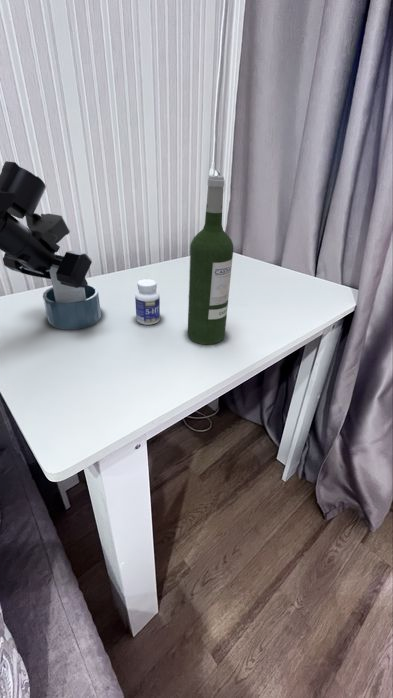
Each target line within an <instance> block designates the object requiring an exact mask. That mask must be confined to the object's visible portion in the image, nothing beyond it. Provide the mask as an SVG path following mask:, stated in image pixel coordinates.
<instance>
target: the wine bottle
mask: <svg viewBox="0 0 393 698" xmlns="http://www.w3.org/2000/svg"><path fill="white" fill-rule="evenodd" d="M225 181H226V180H225V177H224V176H223V175H209V176H208V178H207V193H206V206H205V218H204V225H203V228H202V229H201V230H200V231H199V232H198V233H197V234H196V235H194V237H193V238H192V240H191V242H190V245H189V268H188V269H189V270H188V272H189V274H188V305H187V309H188V310H187V336H188V338H189V339H190V340H191V341H192V342H195V343H196V344H199V345H207V346H208V345H216V344H218V343H221V342H222V341H223V340H224V338H225V336H226V329H227V317H228V305H229V297H230V286H231V278H232V277H231V276H232V267H233V258H234V244H233V241H232V239H231V237H230V236H229V234H227V233H226V231H224V228H223V208H224V207H223V206H224V187H225Z"/></svg>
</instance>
